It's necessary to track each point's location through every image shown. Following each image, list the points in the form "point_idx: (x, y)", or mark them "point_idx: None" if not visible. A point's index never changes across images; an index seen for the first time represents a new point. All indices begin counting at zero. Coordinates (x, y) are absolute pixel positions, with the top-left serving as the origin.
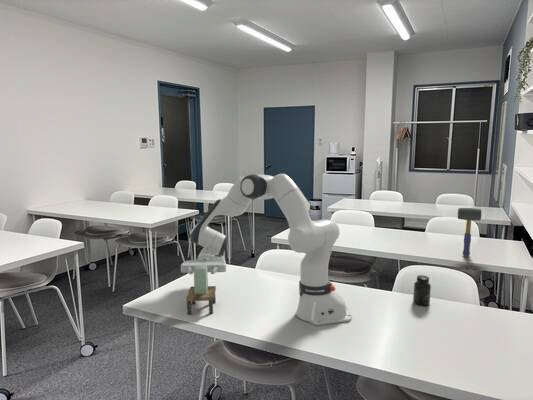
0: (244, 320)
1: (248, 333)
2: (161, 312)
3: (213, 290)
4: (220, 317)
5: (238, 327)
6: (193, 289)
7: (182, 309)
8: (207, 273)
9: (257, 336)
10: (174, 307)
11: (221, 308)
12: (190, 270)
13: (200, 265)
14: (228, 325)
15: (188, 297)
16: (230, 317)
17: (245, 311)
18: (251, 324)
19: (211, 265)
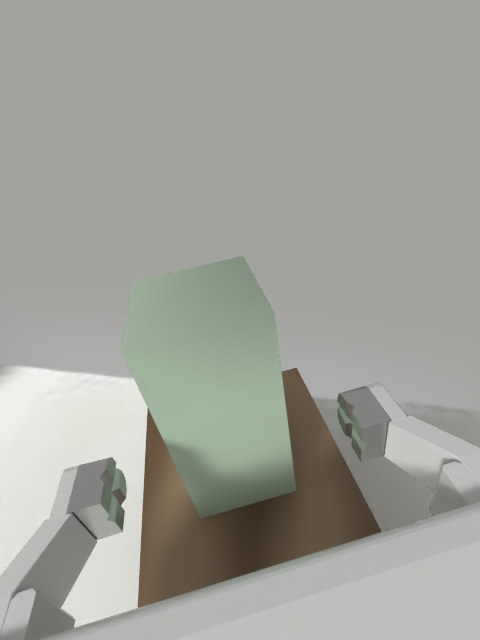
0: (39, 448)
1: (51, 379)
2: (443, 423)
3: (151, 503)
4: (139, 448)
5: (75, 399)
6: (320, 485)
7: (362, 480)
8: (157, 426)
9: (29, 373)
10: (430, 493)
11: (137, 550)
12: (367, 389)
13: (206, 321)
14: (108, 402)
15: (283, 372)
16: (94, 458)
17: (3, 541)
18: (21, 427)
19: (76, 629)
